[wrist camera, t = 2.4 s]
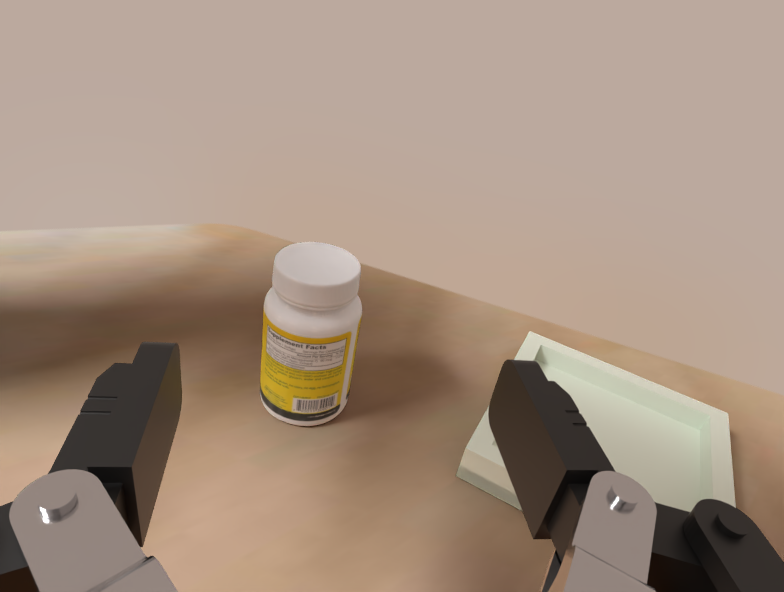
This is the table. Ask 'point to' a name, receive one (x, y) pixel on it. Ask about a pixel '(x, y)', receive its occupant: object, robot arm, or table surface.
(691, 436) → the tray
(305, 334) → the supplement bottle
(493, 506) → the table surface
